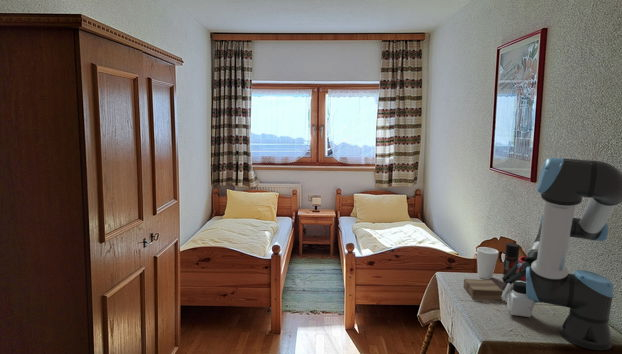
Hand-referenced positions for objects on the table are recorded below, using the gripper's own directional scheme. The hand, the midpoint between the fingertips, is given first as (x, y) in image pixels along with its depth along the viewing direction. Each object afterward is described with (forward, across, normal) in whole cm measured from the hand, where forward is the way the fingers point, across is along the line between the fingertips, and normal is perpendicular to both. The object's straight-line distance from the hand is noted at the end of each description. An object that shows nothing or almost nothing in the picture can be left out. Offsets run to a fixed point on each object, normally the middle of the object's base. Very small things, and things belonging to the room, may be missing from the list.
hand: (516, 303), depth 170 cm
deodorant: (-27, +23, -34) cm, 49 cm away
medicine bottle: (+1, 0, -6) cm, 6 cm away
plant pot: (-23, +10, -30) cm, 39 cm away
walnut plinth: (-3, +19, -11) cm, 22 cm away
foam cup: (-18, +28, -25) cm, 42 cm away
